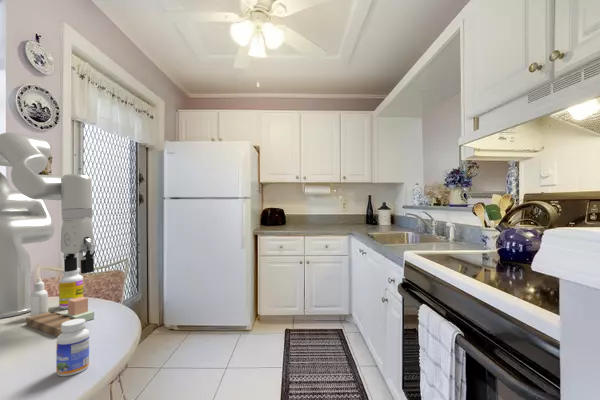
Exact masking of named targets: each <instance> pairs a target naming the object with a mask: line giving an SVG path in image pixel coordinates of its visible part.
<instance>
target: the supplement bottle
mask: <svg viewBox="0 0 600 400" xmlns="http://www.w3.org/2000/svg"><path fill="white" fill-rule="evenodd" d="M80 273H81V267H77V270H74V271H69V272H65V271H64V269H63V270H62V274H63V276H62V277H60V278H59V280H58V287H59V288H58V293H59V294H58V296H59V297H58V305H59V309H61V310H68V300H70V299H74V298H78V297H84V276H83V275H81V274H80Z"/></svg>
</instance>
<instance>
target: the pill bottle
mask: <svg viewBox="0 0 600 400" xmlns="http://www.w3.org/2000/svg"><path fill="white" fill-rule="evenodd" d="M86 324H87V323H86V321H85V319H73V320H69V321H66V322H64V323H62V324H61V332H63V333H62V334H60V335H59V336H56V359H55V360H56V364H55V366H56V369H55V370H56V375H57V376H59V377H70V376H73V375H76V374H78V373H81V372H84V371H85V370H86V369H87V368H88V367H90V330H88V329H87V328H86ZM84 327H85V329H84Z"/></svg>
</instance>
